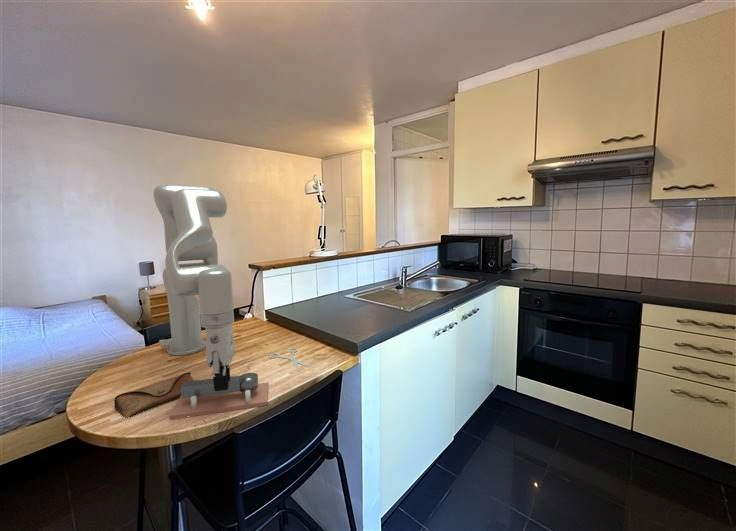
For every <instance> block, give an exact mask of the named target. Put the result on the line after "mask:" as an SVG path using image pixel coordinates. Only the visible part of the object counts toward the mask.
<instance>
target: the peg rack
mask: <svg viewBox="0 0 736 531" xmlns="http://www.w3.org/2000/svg"><path fill="white" fill-rule="evenodd" d="M268 395H269V382H261V383H258V388H257V389H256V390H254V391H251V392H250V390H246V391H245V392H240V391H239V392H231V393H223V394H215V395H207V396H199V397H196V396H192V397H191V398H183V399H181V396H180V398H178V399H177V402H176V403H175V405H174V406H173V409H171V412H170V413H169V416H168V419H172V420H174V419H173V418H179V419H181V418H180V417H186V418H188V417H187V416H192V417H196V416H195V415H199V416H203V415H202V414H206V415H211V414H217V413H219V414H220V413H224V412H231V411H238V410H244V409H251V408H258V407H265V406H268ZM210 413H211V414H210Z"/></svg>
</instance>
